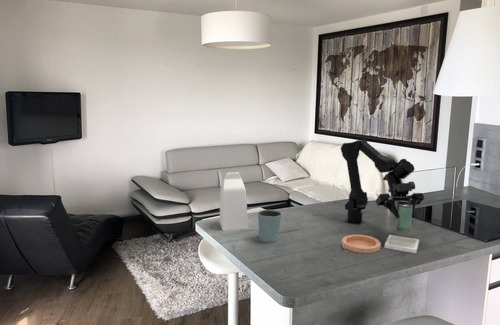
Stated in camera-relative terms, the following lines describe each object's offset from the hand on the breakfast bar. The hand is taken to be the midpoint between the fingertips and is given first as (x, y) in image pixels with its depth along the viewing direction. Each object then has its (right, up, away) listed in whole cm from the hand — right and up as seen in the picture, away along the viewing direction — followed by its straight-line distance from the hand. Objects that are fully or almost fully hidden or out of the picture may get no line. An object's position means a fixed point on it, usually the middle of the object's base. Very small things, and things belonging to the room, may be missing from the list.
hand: (405, 217), depth 161 cm
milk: (-71, -8, +30) cm, 78 cm away
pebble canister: (0, -5, +2) cm, 6 cm away
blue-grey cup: (-54, -11, +13) cm, 57 cm away
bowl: (-17, -13, +4) cm, 22 cm away
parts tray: (0, -13, +4) cm, 13 cm away
